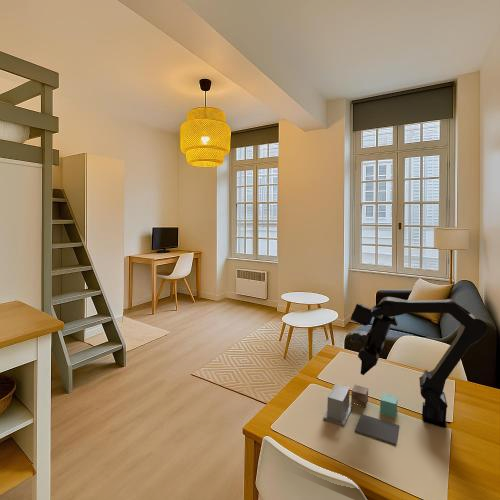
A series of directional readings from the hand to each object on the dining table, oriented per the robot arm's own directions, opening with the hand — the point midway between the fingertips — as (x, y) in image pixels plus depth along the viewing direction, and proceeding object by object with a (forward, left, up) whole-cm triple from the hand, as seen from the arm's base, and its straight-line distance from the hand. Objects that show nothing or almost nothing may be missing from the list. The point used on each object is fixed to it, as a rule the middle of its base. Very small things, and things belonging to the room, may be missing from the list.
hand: (364, 369), depth 115 cm
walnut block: (+1, 0, -13) cm, 13 cm away
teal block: (-9, +1, -13) cm, 16 cm away
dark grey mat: (-7, +13, -13) cm, 20 cm away
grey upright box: (+6, +11, -13) cm, 18 cm away
